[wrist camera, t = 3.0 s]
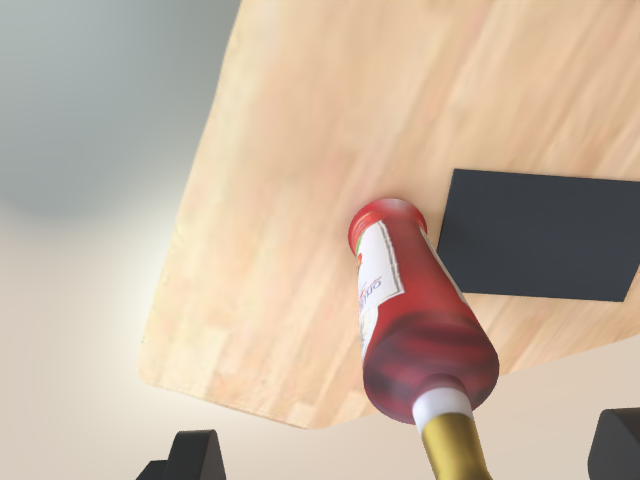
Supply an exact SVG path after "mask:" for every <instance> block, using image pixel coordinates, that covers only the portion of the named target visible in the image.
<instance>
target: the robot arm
mask: <svg viewBox="0 0 640 480" xmlns="http://www.w3.org/2000/svg"><path fill="white" fill-rule="evenodd" d="M588 473H589V478H590V480H640V408H622V409H606V410H603V411H602V413H601V414H600V417H599V421H598V424H597V428H596V432H595V435H594V439H593V443H592V446H591V450H590V454H589V457H588ZM136 480H226V474H225V470H224V465H223V460H222V455H221V451H220V446H219V441H218V436H217V433H216V431H215V430H195V431H179V432H178V433H177V434H176V436H175V439H174V441H173V445H172V448H171V451H170V454H169V457H168V460H157V461H150V463H149V464H148V465H147V466H146V468H145V469H144V470H143V471H142V472H141V474H140V475H139V476H138V477H137V479H136Z"/></svg>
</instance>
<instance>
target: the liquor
mask: <svg viewBox="0 0 640 480" xmlns="http://www.w3.org/2000/svg"><path fill="white" fill-rule="evenodd" d="M348 240H349V245H350V248H351V250H352V252H353V254H354V255H355V256H356V263H357V276H358V289H359V324H360V337H361V350H362V366H363V381H364V389H365V391H366V394H367V396H368V398H369V400H370V401H371V403H372V404H373V405H374V406H375V407H376V408H377V409H378V410H379V411H380V412H381V413H383V414H384V415H386V416H388V417H390V418H391V419H394V420H397V421H399V422H402V423H407V424H413V425H417V428H418V431H419V434H420V436H421V439H422V442H423V445H424V448H425V450H426V453H427V456H428V458H429V461H430V464H431V467H432V470H433V472H434V475H435V478H436V480H493V479H492V478H491V476H490V474H489V472H488V470H487V467H486V463H485V459H484V456H483V452H482V448H481V445H480V440H479V436H478V433H477V429H476V425H475V421H474V417H473V414H472V411H473V410H475V409H476V408H477V407H478V406H480V405H481V404H482V403H483V402H484V401H485V400H486V399H487V398H488V396H489V395H490V394H491V392H492V391H493V389H494V387H495V385H496V383H497V379H498V376H499V360H498V355H497V353H496V351H495V349H494V347H493V345H492V343H491V342H490V340H489V338H488V337H487V335H486V334H485V332H484V330H483V329H482V327H481V325H480V324H479V322H478V320H477V318H476V317H475V315H474V313H473V312H472V310H471V308H470V306H469V305H468V303H467V301H466V299H465V298H464V296H463V294H462V293H461V291H460V290H459V288H458V286H457V285H456V283H455V282H454V280H453V279H452V277H451V276H450V274H449V273H448V271H447V269H446V268H445V266H444V265H443V263H442V261H441V260H440V258H439V256H438V255H437V253H436V251H435V249H434V248H433V246H432V244H431V242H430V241H429V239H428V237H427V226H426V222H425V219H424V217H423V215H422V214H421V213H420V211H419V210H418V209H417V208H416V207H414V206H413V205H412V204H410V203H408V202H406V201H403V200H399V199H390V198H388V199H381V200H377V201H374V202H372V203H370V204H368V205H366V206H365V207H364V208H362V209H361V210H360V211H359V212H358V213H357V214H356V215H355V217H354V218H353V220H352V222H351V224H350V228H349V233H348Z"/></svg>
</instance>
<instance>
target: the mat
mask: <svg viewBox="0 0 640 480" xmlns="http://www.w3.org/2000/svg"><path fill="white" fill-rule="evenodd" d="M437 255H438V256H439V258H440V260H441V261H442V263H443V265H444V266H445V268H446V269H447V271H448V273H449V274H450V276H451V277H452V279H453V280H454V282H455V283H456V285H457V286H458V288H459V290H460V291H461V292H465V293H482V294H498V295H515V296H531V297H548V298H564V299H581V300H597V301H613V302H623V301H624V299H625V297H626V294H627V292H628V290H629V287H630V285H631V283H632V280H633V278H634V276H635V273H636V271H637V269H638V266H639V264H640V182H632V181H618V180H604V179H590V178H576V177H561V176H547V175H533V174H519V173H505V172H491V171H477V170H463V169H454V172H453V176H452V181H451V186H450V191H449V195H448V200H447V205H446V210H445V215H444V219H443V224H442V229H441V234H440V238H439V243H438V248H437Z"/></svg>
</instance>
